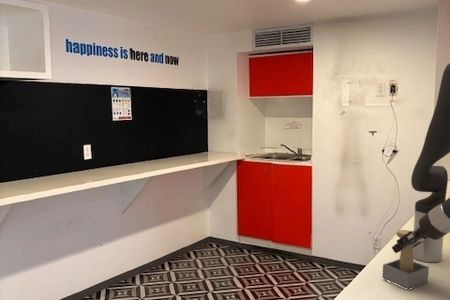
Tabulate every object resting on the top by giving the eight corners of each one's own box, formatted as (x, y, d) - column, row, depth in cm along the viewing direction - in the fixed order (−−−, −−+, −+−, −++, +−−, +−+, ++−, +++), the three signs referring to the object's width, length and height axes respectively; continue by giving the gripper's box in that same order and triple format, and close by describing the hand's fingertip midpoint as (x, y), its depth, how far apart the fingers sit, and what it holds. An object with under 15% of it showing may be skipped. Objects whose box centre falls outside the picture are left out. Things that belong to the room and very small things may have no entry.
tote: (402, 272, 139) (402, 257, 138) (427, 282, 131) (428, 267, 130) (382, 279, 133) (383, 264, 133) (408, 290, 126) (409, 274, 125)
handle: (396, 274, 136) (398, 228, 134) (418, 279, 132) (420, 232, 130) (393, 279, 132) (395, 232, 130) (415, 284, 128) (417, 236, 127)
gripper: (445, 206, 127) (409, 233, 138) (417, 213, 119) (381, 241, 130) (462, 228, 123) (423, 253, 134) (434, 236, 115) (395, 263, 126)
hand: (402, 247), depth 132 cm, fingers open, 8 cm apart
